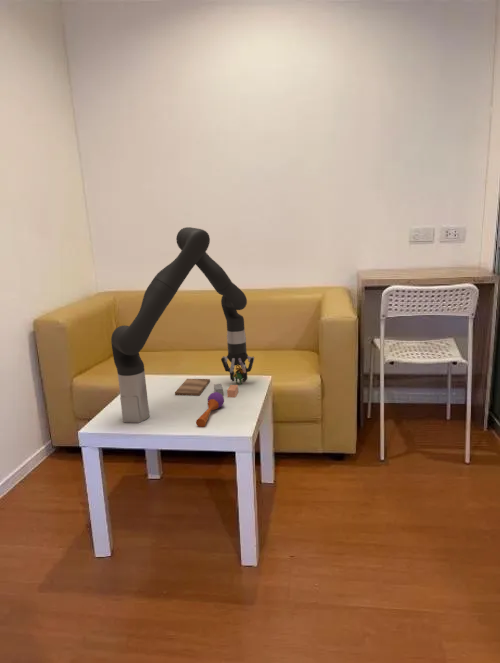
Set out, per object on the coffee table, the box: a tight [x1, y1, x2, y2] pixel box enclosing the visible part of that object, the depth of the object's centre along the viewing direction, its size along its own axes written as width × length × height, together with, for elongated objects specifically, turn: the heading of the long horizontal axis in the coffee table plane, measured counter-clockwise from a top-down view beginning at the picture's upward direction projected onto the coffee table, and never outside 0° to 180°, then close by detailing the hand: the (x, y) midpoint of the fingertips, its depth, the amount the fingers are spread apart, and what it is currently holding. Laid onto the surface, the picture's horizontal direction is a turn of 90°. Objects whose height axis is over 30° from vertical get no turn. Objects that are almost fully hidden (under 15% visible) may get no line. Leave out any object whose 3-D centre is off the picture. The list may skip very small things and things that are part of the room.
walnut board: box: [174, 378, 211, 397], centre depth 211 cm, size 16×10×1 cm, turn 169°
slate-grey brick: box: [213, 383, 224, 396], centre depth 204 cm, size 6×3×3 cm, turn 9°
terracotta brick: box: [226, 384, 239, 398], centre depth 202 cm, size 6×3×3 cm, turn 169°
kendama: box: [195, 391, 225, 428], centre depth 183 cm, size 6×6×20 cm
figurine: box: [232, 365, 244, 385], centre depth 213 cm, size 3×12×8 cm, turn 158°
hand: (239, 380), depth 213 cm, fingers open, 4 cm apart
